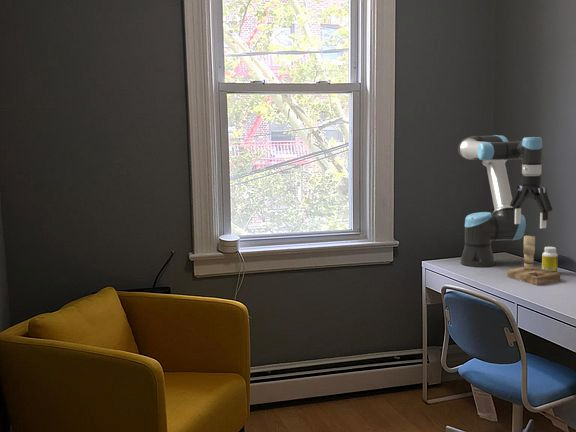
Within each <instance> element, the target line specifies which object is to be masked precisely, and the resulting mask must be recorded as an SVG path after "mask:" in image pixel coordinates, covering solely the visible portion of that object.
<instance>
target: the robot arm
mask: <svg viewBox="0 0 576 432" xmlns="http://www.w3.org/2000/svg"><path fill="white" fill-rule="evenodd" d="M457 152H458V154H459V155H460V156H461V157H462V158H464V159H466V160H472V161H478V160H479V161H481V163H482V165H483V166H484V167H486V171H487V177H488V182H489V187H490V191H491V192H490V193H491V197H492V198H491V199H492V203H493V208H494V211H493V212H488V211H481V212H474V213H473V212H472V213H470V214H468V215H466V217H465V219H464V248H463V251H462V254H461V256H460V264H461V265H464V266H467V267H475V268H483V267H484V268H485V267H486V268H487V267H492V266H494V265H495V264H496V262H495V257H494V253H493V249H492V242H494V241H496V242H498V241H515V240H516V241H517V240H521V239H523V238H524V236H525V235H524V234H525V232H526V226H527V225H526V223H527V221H526V217H525V216H524V214H522V207H521V206H522V205H523V203H524V202H525V201H526V199H527V198H531V199H533V200H535V202H536V204H537V206H538V207H539V209H540V211H541V212H540V214H539V215H540V216H539V229H547V221H548V219H549V218H548V216H549V212H552V211H553V207H552V204H551V201H550V199H549V196H548V193H547V191H548V190H547V188H546V187H540V186H541V184H542V176H541V175H542V163H543V162H542V158H543V139H542V138H541V137H540V136H537V137H536V136H528V137H527V136H526V137H523V138H522V140H516V141H509V140H508V138H507V137H506V136H504V135H497V134H493V135H473V136H472V135H471V136H469V137H466V138H464V139H462V140H461V141H460V143H459V144H458V148H457ZM508 160H510V161H511V160H521V174H522V176H521V185H516V187H515V188H516V189H515V192H514V194H513V196H512V192H511V186H510V182H509V177H508V173H507V171H508V170H507V167H506V162H507V161H508Z"/></svg>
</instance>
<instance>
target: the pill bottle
mask: <svg viewBox="0 0 576 432" xmlns="http://www.w3.org/2000/svg"><path fill="white" fill-rule="evenodd" d="M541 259H542V260H541V269H544V270H548V271H552V272H555V273H558V265H559V262H558V261H559V255H558V253H557V247H556V246H555V247H554V246H544V251H543V252H542V255H541Z"/></svg>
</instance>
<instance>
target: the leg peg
mask: <svg viewBox="0 0 576 432" xmlns="http://www.w3.org/2000/svg"><path fill="white" fill-rule="evenodd" d="M522 251H523V252H522V253H523V267H524V270H533V267H534V260H535V259H534V257H535V253H536V252H535V251H536V235H535V236H534V235H523V250H522Z"/></svg>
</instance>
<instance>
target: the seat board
mask: <svg viewBox="0 0 576 432" xmlns="http://www.w3.org/2000/svg"><path fill="white" fill-rule="evenodd" d="M506 270H507V271H506V277H507V278H509V277H510V279H513V280H516V279H517V280H516V281H520V280H521V281H520V282H523V281H524V283H527V284H531V285H534V286H541V285H547V284H550V283H556V282H557V283H558V282H561V273H559V272H557V273H555V272H552V271H548V270H544V269H542V268H539V267H536V266H533V270H524V266H522V267H516V268H510V269H506Z"/></svg>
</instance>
